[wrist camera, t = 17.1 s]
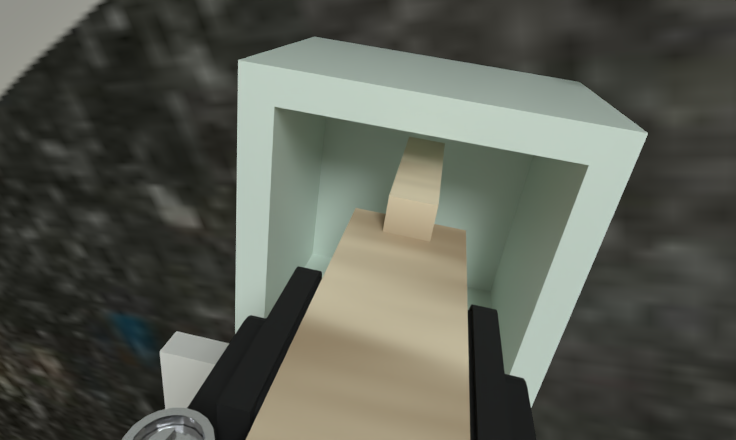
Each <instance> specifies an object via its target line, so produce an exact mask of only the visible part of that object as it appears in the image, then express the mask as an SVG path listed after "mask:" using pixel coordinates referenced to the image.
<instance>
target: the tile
mask: <svg viewBox="0 0 736 440" xmlns="http://www.w3.org/2000/svg"><path fill="white" fill-rule="evenodd" d="M228 345H229V343H225V342H221V341H216V340H212V339H208V338H203V337H199V336H194V335H190V334H186V333H181V332H177V331H176V332H175V334H174V335H173V336H172V337H171V338H170V340H169V341H168V342H167V343H166V344H165V346H164V347H163V348H162V349H161V350H160V360H161V370H162V380H163V390H164V400H165V409H169V408H187V407H188V406H189V404H190V403H191V401H192V400H193V398H194V397H195V395H196V394H197V392H198V391H199V389H200V387H201V386H202V384H203V383H204V381H205V380H206V378H207V377H208V375H209V374H210V372H211V371H212V369H213V368H214V366H215V364H216V363H217V361H218V360H219V358H220V357H221V355H222V354H223V352H224V351H225V349H226V348H227V346H228Z"/></svg>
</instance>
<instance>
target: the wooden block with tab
mask: <svg viewBox="0 0 736 440" xmlns="http://www.w3.org/2000/svg"><path fill="white" fill-rule="evenodd" d="M444 147H445V143H441V142H436V141H430V140H425V139H420V138H414V137H409V139H408V142H407V145H406V148H405V150H404V153H403V156H402V159H401V162H400V165H399V168H398V171H397V174H396V177H395V180H394V183H393V186H392V188H391V191H390V194H389V199H388V204H387V210H386V214H383V213H379V212H374V211H369V210H364V209H359V208H355V210H354V212H353V214H352V216H351V219H350V221H349V223H348V225H347V227H346V229H345V231H344V233H343V235H342V238H341V240H340V242H339V244H338V246H337V248H336V250H335V252H334V254H333V257H332V259H331V261H330V263H329V265H328V267H327V269H326V271H325V273H324V276H323V278H322V280H321V282H320V284H319V286H318V288H317V290H316V292H315V295H314V297H313V299H312V301H311V303H310V305H309V307H308V309H307V311H306V314H305V316H304V318H303V320H302V322H301V324H300V326H299V328H298V330H297V333H296V335H295V337H294V339H293V341H292V343H291V345H290V347H289V349H288V352H287V354H286V356H285V358H284V360H283V362H282V364H281V366H280V368H279V371H278V373H277V375H276V377H275V379H274V381H273V383H272V385H271V387H270V390H269V392H268V394H267V396H266V398H265V400H264V402H263V404H262V406H261V409H260V411H259V413H258V415H257V417H256V419H255V421H254V423H253V425H252V428H251V430H250V432H249V434H248V436H247V438H246V440H470V403H469V355H468V306H467V258H466V230H462V229H457V228H452V227H447V226H442V225H437V224H434V223H435V219H436V214H437V210H438V205H439V196H440V186H441V176H442V166H443V156H444Z"/></svg>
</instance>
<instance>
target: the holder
mask: <svg viewBox="0 0 736 440" xmlns="http://www.w3.org/2000/svg"><path fill="white" fill-rule="evenodd" d="M647 135H648V133H647V132H646V131H644V130H643V129H642V128H640V127H639V126H638V125H636V124H635V123H634V122H632V121H631V120H630V119H628V118H627V117H626V116H624V115H623V114H622V113H620V112H619V111H618V110H616V109H615V108H614V107H612V106H611V105H610V104H608V103H607V102H606V101H604V100H603V99H601V98H600V97H599V96H597V95H596V94H595V93H593V92H592V91H591V90H589V89H588V88H587V87H585V86H584V85H583V84H581V83H580V82H576V81H571V80H565V79H559V78H553V77H547V76H541V75H535V74H530V73H524V72H518V71H512V70H506V69H500V68H494V67H489V66H483V65H477V64H471V63H465V62H459V61H453V60H448V59H442V58H436V57H430V56H424V55H418V54H412V53H407V52H401V51H395V50H389V49H383V48H377V47H372V46H366V45H360V44H354V43H348V42H342V41H336V40H331V39H325V38H319V37H312V38H309V39H306V40H302V41H299V42H296V43H293V44H289V45H286V46H283V47H279V48H276V49H273V50H270V51H266V52H263V53H260V54H257V55H253V56H250V57H247V58H244V59H240V60H238V124H237V210H236V297H235V334H236V332H237V331H238V329H239V328H240V326H241V325H242V323H243V322H244V320H245V319H246V318H247V317H248V316H250V315H253V316H257V317H261V318H267V317H268V315H269V313H270V312H271V310H272V308H273V307H274V305H275V303H276V301H277V300H278V298H279V296H280V295H281V293H282V291H283V290H284V288H285V286H286V284H287V283H288V281H289V279H290V278H291V276H292V274H293V273H294V271H295V269H296V268H297V267H298V266H300V267H304V268H309V269H313V270H318V271H321V272H322V278H323V276H324V273H325V271H326V269H327V267H328V265H329V263H330V261H331V259H332V257H333V254H334V252H335V250H336V248H337V246H338V244H339V242H340V240H341V238H342V235H343V233H344V231H345V229H346V227H347V225H348V223H349V221H350V219H351V216H352V214H353V212H354V210H355V208H359V209H364V210H369V211H374V212H379V213H383V214H386V210H387V204H388V199H389V194H390V191H391V188H392V186H393V183H394V180H395V177H396V174H397V171H398V168H399V165H400V162H401V159H402V156H403V153H404V150H405V148H406V145H407V142H408V139H409V137H414V138H420V139H425V140H430V141H436V142H441V143H445V147H444V156H443V166H442V176H441V186H440V196H439V205H438V210H437V214H436V219H435V223H434V224H437V225H442V226H447V227H452V228H457V229H462V230H466V258H467V306H468V310H469V308H470V306H471V304H473V305H478V306H482V307H487V308H491V309H496V310H497V312H498V320H499V328H500V337H501V346H502V354H503V363H504V372H505V374H508V375H512V376H516V377H521V378H524V380H525V381H526V384H527V388H528V394H529V400H530V406H531V407H532V405H533V402H534V400H535V398H536V395H537V393H538V391H539V388H540V386H541V384H542V381H543V379H544V376H545V374H546V372H547V369H548V367H549V365H550V362H551V360H552V358H553V355H554V353H555V351H556V348H557V346H558V344H559V341H560V339H561V337H562V334H563V332H564V330H565V327H566V325H567V323H568V320H569V318H570V315H571V313H572V311H573V308H574V306H575V304H576V301H577V299H578V297H579V294H580V292H581V290H582V287H583V285H584V283H585V280H586V278H587V276H588V273H589V271H590V269H591V266H592V264H593V261H594V259H595V257H596V254H597V252H598V250H599V247H600V245H601V243H602V240H603V238H604V236H605V233H606V231H607V229H608V226H609V224H610V222H611V219H612V217H613V215H614V212H615V210H616V208H617V205H618V203H619V200H620V198H621V196H622V193H623V191H624V189H625V186H626V184H627V182H628V179H629V177H630V175H631V172H632V170H633V168H634V165H635V163H636V161H637V158H638V156H639V154H640V151H641V149H642V147H643V144H644V142H645V139H646V137H647Z"/></svg>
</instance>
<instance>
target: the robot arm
mask: <svg viewBox="0 0 736 440" xmlns="http://www.w3.org/2000/svg"><path fill="white" fill-rule="evenodd" d="M321 280H322V272H321V271H318V270H313V269H309V268H304V267H300V266H298V267H297V268H296V269H295V271H294V273H293V274H292V276H291V278H290V279H289V281H288V283H287V284H286V286H285V288H284V290H283V291H282V293H281V295H280V296H279V298H278V300H277V301H276V303H275V305H274V307H273V308H272V310H271V312H270V313H269V315H268V317H267V318H261V317H257V316H253V315H250V316H248V317H247V318H246V319H245V320H244V322H243V323H242V325H241V326H240V328H239V329H238V331H237V332H236V334H235V335H234V337H233V338H232V340H231V342H230V343H229V345H228V346H227V348H226V349H225V351H224V352H223V354H222V355H221V357H220V358H219V360H218V361H217V363H216V364H215V366H214V368H213V369H212V371H211V372H210V374H209V375H208V377H207V378H206V380H205V381H204V383H203V384H202V386H201V387H200V389H199V391H198V392H197V394H196V395H195V397H194V398H193V400H192V401H191V403H190V404H189V406H188V407H187V408H169V409H164V410H159V411H157V412H155V413H152V414H150V415H148V416H146V417H144V418H143V419H141V420H140V421H139V422H137V423H136V424H135V425H133V426H132V428H131V429H130V430H129V431H128V432H127V433H126V435H125V436H124V437H123V439H122V440H246V438H247V436H248V434H249V432H250V430H251V428H252V425H253V423H254V421H255V419H256V417H257V415H258V413H259V411H260V409H261V406H262V404H263V402H264V400H265V398H266V396H267V394H268V392H269V390H270V387H271V385H272V383H273V381H274V379H275V377H276V375H277V373H278V371H279V368H280V366H281V364H282V362H283V360H284V358H285V356H286V354H287V352H288V349H289V347H290V345H291V343H292V341H293V339H294V337H295V335H296V333H297V330H298V328H299V326H300V324H301V322H302V320H303V318H304V316H305V314H306V311H307V309H308V307H309V305H310V303H311V301H312V299H313V297H314V295H315V292H316V290H317V288H318V286H319V284H320V282H321ZM468 355H469V403H470V440H536V435H535V429H534V423H533V417H532V412H531V406H530V400H529V394H528V388H527V384H526V381H525V380H524V378H521V377H516V376H512V375H508V374H505V372H504V363H503V354H502V346H501V337H500V328H499V320H498V312H497V310H496V309H491V308H487V307H482V306H478V305H473V304H471V306H470V308H469V310H468Z"/></svg>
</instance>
